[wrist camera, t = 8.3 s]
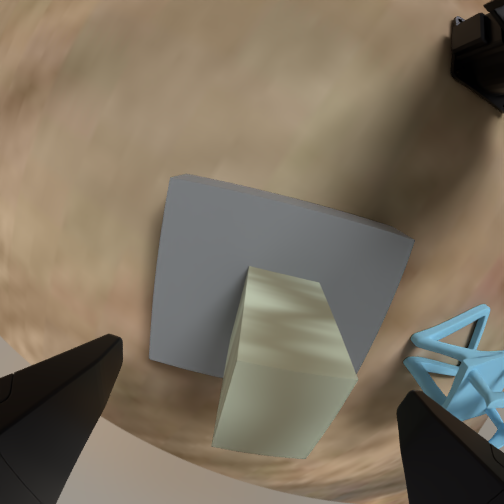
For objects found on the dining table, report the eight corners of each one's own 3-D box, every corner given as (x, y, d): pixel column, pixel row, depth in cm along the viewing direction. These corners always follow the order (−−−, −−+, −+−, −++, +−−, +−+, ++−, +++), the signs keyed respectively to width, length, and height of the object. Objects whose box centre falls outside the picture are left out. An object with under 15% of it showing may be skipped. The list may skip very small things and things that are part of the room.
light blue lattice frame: (417, 309, 20) (498, 411, 9) (486, 303, 20) (565, 376, 9) (395, 382, 23) (441, 485, 11) (461, 369, 22) (516, 449, 11)
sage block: (319, 282, 16) (358, 379, 9) (292, 353, 18) (305, 459, 10) (249, 266, 16) (237, 360, 8) (229, 340, 18) (211, 446, 10)
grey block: (389, 224, 19) (415, 240, 15) (334, 363, 23) (343, 396, 19) (188, 173, 18) (170, 177, 15) (165, 328, 22) (149, 358, 18)
